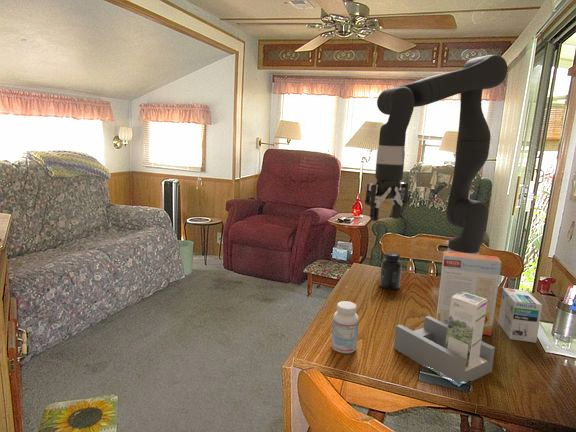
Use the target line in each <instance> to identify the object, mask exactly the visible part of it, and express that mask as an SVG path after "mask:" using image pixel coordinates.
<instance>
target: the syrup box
mask: <svg viewBox="0 0 576 432" xmlns="http://www.w3.org/2000/svg"><path fill="white" fill-rule="evenodd" d="M486 307H487V299H485V298H482V297H479V296H476V295H473V294H469V293H466V292H463V291H462V292H459V293H457V294H455V295H454V296H452V298H451V304H450V312H449V320H448V328H447V336H446V344H445V348H446V349H448V350H449V351H451V352H453V353H455V354H457V355H459V356H461V357H463V358H464V359H466V360H467V361H466V366H467V367H469V366H471V365H472V364H473V363H475V362H476V361H477V360H478V359H479V355H480V346H481V341H482V339H483V334H482V333H483V326H484V320H485V314H486Z"/></svg>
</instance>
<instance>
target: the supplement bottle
mask: <svg viewBox="0 0 576 432" xmlns="http://www.w3.org/2000/svg"><path fill="white" fill-rule="evenodd" d="M384 255H385V257H384V259H383V260H382V261H381V267H380V278H379V286H380V287H382V288H383V289H386V290H393V291H394V290H399V288H400V286H401V277H402V266H403V264H402V262H401V261H400V259H401V254H400V253H398V252H397V251H386V252H385V254H384Z"/></svg>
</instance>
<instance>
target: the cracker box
mask: <svg viewBox="0 0 576 432" xmlns="http://www.w3.org/2000/svg"><path fill="white" fill-rule="evenodd" d="M501 267H502V261H501V259H500V258H499V256H495V255H487V254H486V255H485V254H480V253H479V254H470V253H461V252H453V251H447V250H444V251H443V255H442V265H441V271H440V272H441V274H440V280H439V281H440V282H439V292H438V300H437V308H436V317H435V319H436V320H439V321H441V322H443V323H445V324H447V325H448V320H449V312H450V304H451V298H452V296H454V295H455V294H457V293H459V292H462V291H463V292H466V293H469V294H473V295H476V296H479V297H482V298H485V299H487V307H486V314H485V320H484V326H483V333H482V336H483V335H484V336H489V337H490V336H492V332H493V326H494V319H495V318H494V317H495V311H496V303H497V296H498V289H499V284H500V277H501V269H502V268H501Z"/></svg>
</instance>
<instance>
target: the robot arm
mask: <svg viewBox="0 0 576 432" xmlns="http://www.w3.org/2000/svg"><path fill="white" fill-rule="evenodd" d="M507 76H508V64H507V61H506V59H505V58H504V57H502V56H500V55H499V54H498V55H497V54H488V55H483V56H479V57H478V56H477V57H474V58H470V59H469V60H467V61H466V62H465V63H464V65H463V67H462V69H457V70H454V71H448V72H444V73H439V74H435V75H432V76H428V77H425V78H422V79H418V80H415V81H413V82H411V83H407V84H403V85H399V86H394V87H390V88H387V89H384V90H383V91H382V92H381V93H380V94H379V95H378V97H377V101H376V106H377V108H378V110H379V112H380V113H382V114H384V115H388V116H389V117H388V120H387V122H386V123H384V124H382V126H380V128H379V138H378V148H377V151H376V152H377V153H376V161H375V162H376V163H375V174H374V178H375V179H376V182H375V183H367V184H366V191H365V201H364V205H367V206H369V207H370V212H369V218H370V220H371V221H374V222H378V221H379V213H380V212H379V210H380V208H379V207H380V205H381V204H382V203H383V202H384V201H385V200H389V199H390V200H391V201H392V203H393V205H392V213H391V218H393V219H395V220H398V219H400V218H401V210H402V206H403V205H404V204H406V205H407V203H408V194H409V191H408V190H409V184H408V182H403V181H402V180H403V178H404V177H403V176H404V167H405V159H406V158H405V155H406V152H405V151H406V150H405V149H406V139H407V136H406V135H407V130H408V127H409V125H410V121H411V118H412V115H413V112H414V109H415V107H423V106H427V105H430V104H433V103H436V102H438V101H441V100H445V99H448V98H450V97H453V96H456V95H458V94H460V108H459V109H460V110H459V121H458V132H457V139H456V147H455V160H454V169H453V175H452V180H451V181H452V182H451V187H450V191H449V197H448V201H447V206H446V219H447V222H448V223H449V225H452V226H455V227H457V228H461V229H462V233H461V235H460V236H455V237H451V238H450V239H449V240H448V243H447V250H446V251H453V252H461V253H470V254H479V255H480V249H481V247H482V244H483V241H484V238H485V237H484V236H485V232H486V228H487V223H488V217H489V213H488V212H489V211H488V206H487V205H486V204H485V203H484V202H483V201H479V200H475V199H470V198H469V193H470V190H471V186H472V182H473V180H474V178H475V177H476V176H477V175H478V174H479V172H480V170H481V169H482V168H483V166H484V165H485V164H486V162H487V160H488V157H489V155H490V154H489V153H490V146H491V145H490V144H491V137H492V135H491V131H490V127H489V124H488V122H487V120H486V118H485V116H484V115H485V114H484V112H483V109H482V100H483V99H482V97H483V90H487V89H493V88H495V87H498V86H499V85H501V84H502V83H503V82H504V81H505V79H506V78H507Z"/></svg>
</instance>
